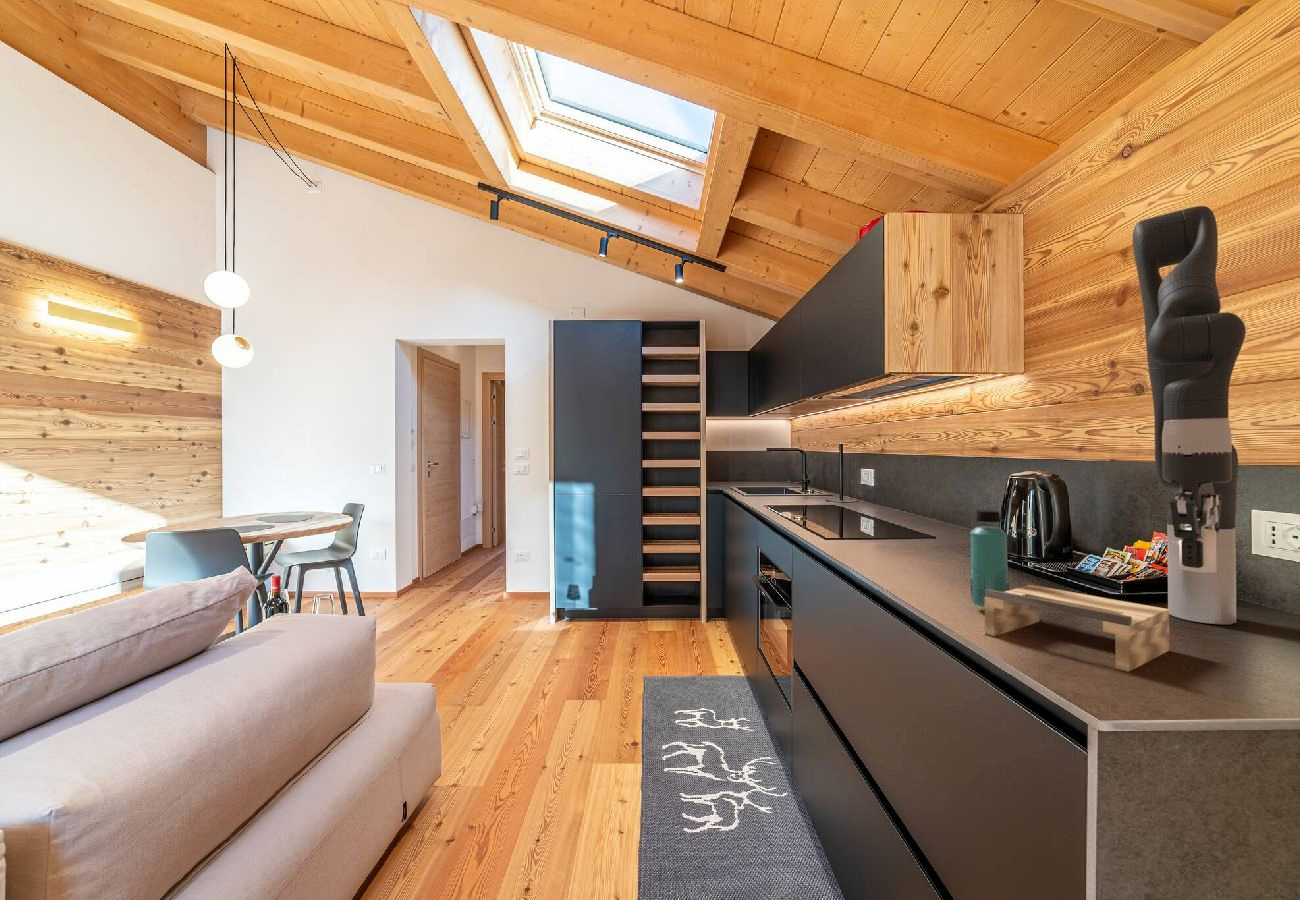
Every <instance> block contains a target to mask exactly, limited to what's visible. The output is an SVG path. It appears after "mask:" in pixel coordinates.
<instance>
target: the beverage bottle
mask: <svg viewBox="0 0 1300 900" xmlns="http://www.w3.org/2000/svg"><path fill="white" fill-rule="evenodd" d="M975 521H976V522H982V523H983V522H984V523H1000V522H1001V516H1000V511H998V510H991V509H981V510H980V509H979V510H977V511H976V516H975ZM969 534H970V568H969V569H970V598H971V601H972V604H973V605H976V606H979V607H982V608H985V597H986V594H985V590H986V589H991V590H997V591H1002V592H1005V591H1009V590H1010V587H1009V586H1010V583H1009V579H1010V578H1009V577H1010V576H1009V569H1010V568H1009V564H1008V547H1007V546H1008V545H1007V543H1008V540H1007V537H1008V534H1007V533H1006V532H1005V530H1003V528H1001V527H997V526H986V525H985V526H983V525H982V526H976V527H974V528H973V529H971V531H970V532H969Z"/></svg>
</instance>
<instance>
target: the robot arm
mask: <svg viewBox="0 0 1300 900" xmlns="http://www.w3.org/2000/svg"><path fill="white" fill-rule="evenodd" d="M1218 236H1219V235H1218V226H1217V221H1216V216H1215V214H1214V211H1213V210H1212V209H1211V208H1210V207H1208V206H1206V205H1198V206H1191V207H1188V208H1183V209H1179V210H1176V211H1172V212H1169V213H1164V214H1161V215H1157V216H1154V217H1149V218H1146V219H1142V220H1140V221H1138V222H1137V223H1136V224H1135V226H1134V228H1133V231H1132V247H1133V255H1134V261H1135V268H1136V271H1137V278H1138V283H1139V288H1140V289H1139V290H1140V295H1141V298H1142V299H1141V301H1142V307H1143V315H1144V316H1143V317H1144V332H1145V333H1144V334H1145V346H1146V348H1145V349H1146V356H1147V357H1146V359H1147V367H1148V369H1147V370H1148V373H1149V381H1150V387H1151V396H1152V404H1153V415H1154V417H1153V418H1154V420H1153V421H1154V464H1155V473H1156V476H1157V479H1158V481H1159V483H1160V484H1161V486H1163V487H1165V488H1169V489H1178V493H1177V494H1175V497H1174V499H1173V498H1171V500H1169V501H1170V502H1169V506H1170V509H1169V510H1168V511H1167V514H1166V524H1167V526H1166V527H1167V530H1166V531H1167V609H1169V616H1170V615H1171V616H1173V617H1174V618H1179V619H1182V620H1186V621H1191V622H1195V623H1196V622H1197V623H1202V624H1203V623H1204V624H1212V625H1233V623H1235V624H1237V553H1236V552H1237V548H1236V547H1237V546H1236V541H1237V540H1236V515H1237V492H1238V491H1237V490H1238V489H1237V488H1238V475H1239V456H1238V451H1237V449H1236V447H1235V445H1234V444H1233V443H1232V442H1233V438H1232V430H1231V426H1230V419H1229V396H1230V395H1229V394H1230V393H1229V392H1230V382H1231V379H1232V375H1233V370H1234V368H1235V364H1236V362H1237V359H1238V357H1239V354H1240V352H1241V349H1242V347H1243V344H1244V341H1245V338H1246V332H1247V331H1246V326H1245V323H1244V321H1243V320H1242V318H1240V317H1239V316H1238V315H1237V314H1235V313H1232V312H1221V299H1220V293H1219V289H1218V287H1217V279H1216V278H1217V277H1216V272H1217V266H1218V265H1217V264H1218V253H1219V252H1218V248H1219V246H1218V245H1219V244H1218V243H1219V238H1218ZM1174 265H1176V266H1175V267H1174V268H1172V269H1171V271H1170V272H1168V273H1167V275H1166V276H1165V277H1164V278H1163V277H1162V276H1161V274H1160V269H1162V268H1164V267H1169V266H1174ZM1186 528H1191V530H1186ZM1204 529H1211V530H1216V566H1217V572H1214V573H1203V572H1193V571H1187V570H1182V569H1180V568H1179V540H1181V541H1182V564H1183V565H1184V566H1186V567H1194V568H1200V567H1203V543H1202V542H1203V540H1204Z"/></svg>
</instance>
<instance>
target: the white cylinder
mask: <svg viewBox="0 0 1300 900" xmlns="http://www.w3.org/2000/svg"><path fill="white" fill-rule="evenodd" d="M1186 530H1191V528H1186ZM1202 543H1203V567H1200V568H1194V567H1186V566H1184V565H1183V564H1182V541H1181V540H1179V568H1180V569H1182V570H1187V571H1193V572H1203V573H1214V572H1217V566H1216V530H1211V529H1204V540H1203V542H1202Z"/></svg>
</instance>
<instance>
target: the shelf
mask: <svg viewBox="0 0 1300 900" xmlns="http://www.w3.org/2000/svg"><path fill="white" fill-rule="evenodd" d="M985 594H986V597H985V607H984V635H985V634H988V635H987V636H989V635H991V636H990V637H992V636H995V637H997V636H996V635H998V636H1001V635H1003V634H1002V633H1004V634H1007V633H1010V632H1012V631H1016V630H1018V629H1022V628H1026V627H1028V626H1030V625H1034V624H1036V623H1039V622H1041V621H1040V617H1041V616H1040V615H1041V614H1040V612H1041V611H1040V609H1043V610H1048V611H1054V612H1059V613H1063V614H1067V615H1068V614H1069V615H1072V616H1078V617H1083V618H1088V619H1091V620H1096V621H1102V632H1103V633H1108V634H1114V637H1115V638H1114V641H1115V643H1114V644H1115V645H1114V647H1115V669H1116V670H1120V671H1123V672H1128V673H1130V672H1131V671H1133V670H1135V669H1137V668H1139V667H1141V666H1143V665H1144V664H1146V663H1148V662H1150V661H1152V660H1153V659H1156V658H1157V657H1158V658H1159V657H1160V656H1161V655H1163V654H1165V653H1168V652H1169V651H1170V614H1169V609H1168V608H1163V607H1160V606H1159V607H1158V606H1153V605H1146V604H1141V603H1136V602H1131V601H1126V600H1119V599H1118V600H1117V599H1113V598H1107V597H1102V596H1096V595H1090V594H1085V593H1079V592H1073V591H1068V590H1063V589H1062V590H1061V589H1056V588H1050V587H1045V586H1039V585H1034V584H1029V585H1025V586H1024V585H1023V586H1020V587H1018V588H1017V587H1016V588H1012V589H1009V591H1005V592H1002V591H997V590H991V589H986V590H985ZM1009 631H1010V632H1009ZM1006 632H1007V633H1006ZM1000 634H1001V635H1000Z"/></svg>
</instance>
